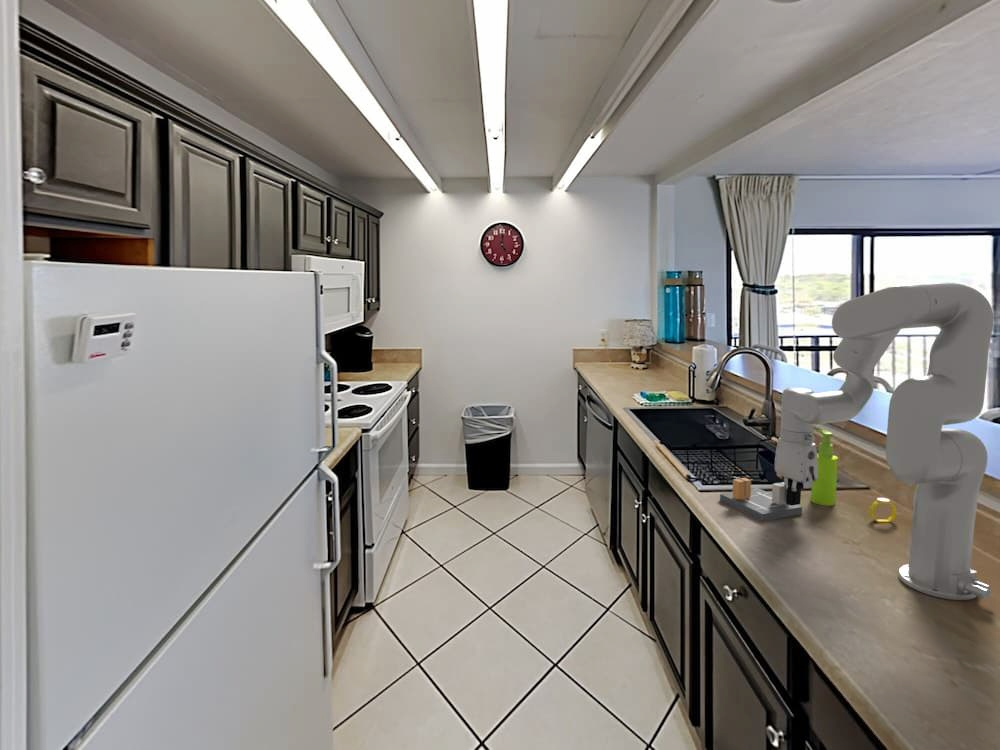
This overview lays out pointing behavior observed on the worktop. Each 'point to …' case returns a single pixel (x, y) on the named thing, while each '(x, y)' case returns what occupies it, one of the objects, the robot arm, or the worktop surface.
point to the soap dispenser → (825, 473)
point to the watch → (883, 501)
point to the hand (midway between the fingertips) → (793, 503)
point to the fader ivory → (779, 493)
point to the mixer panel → (761, 505)
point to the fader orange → (741, 488)
